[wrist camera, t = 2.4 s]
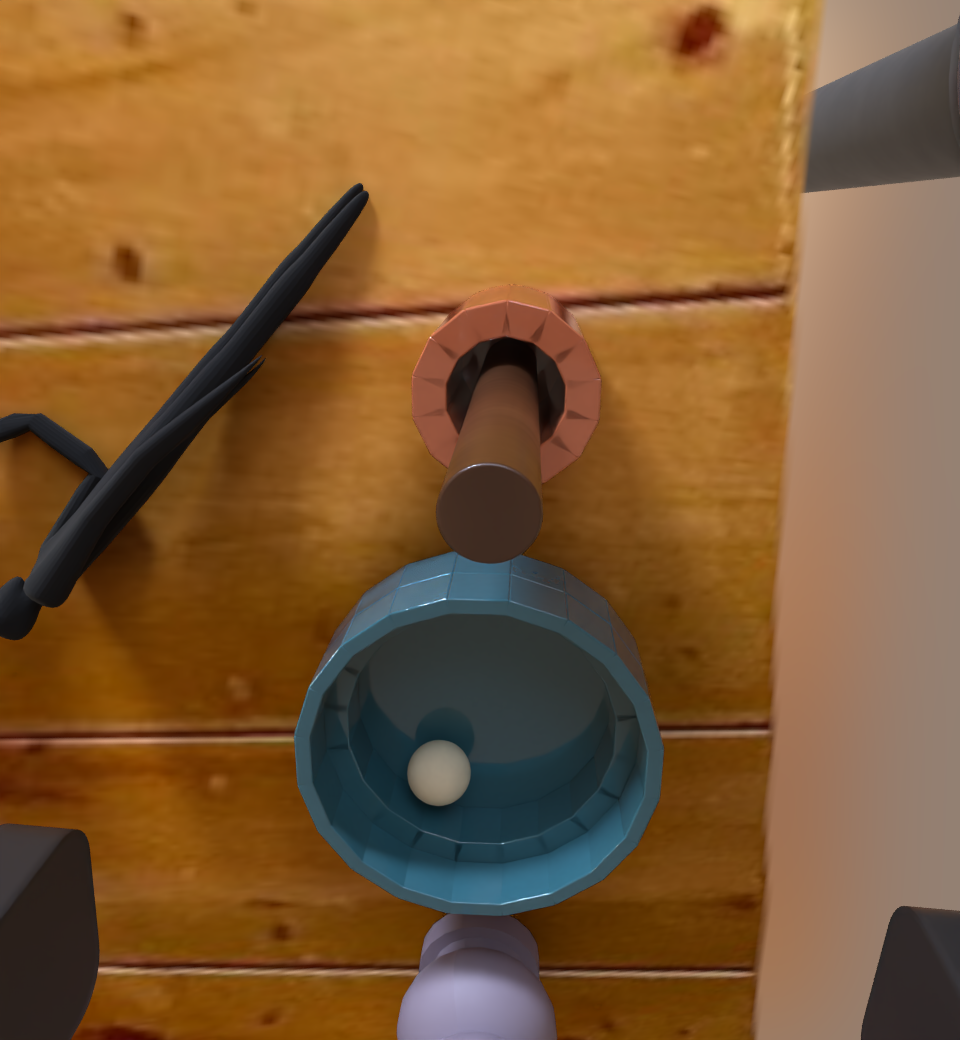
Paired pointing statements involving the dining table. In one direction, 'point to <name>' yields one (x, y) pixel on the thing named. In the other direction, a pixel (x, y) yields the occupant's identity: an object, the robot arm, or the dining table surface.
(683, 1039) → the dining table surface
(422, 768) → the ball
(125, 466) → the black elongated part
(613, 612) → the bowl
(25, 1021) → the robot arm
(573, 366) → the holder
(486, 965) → the cat figurine
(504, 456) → the stick
